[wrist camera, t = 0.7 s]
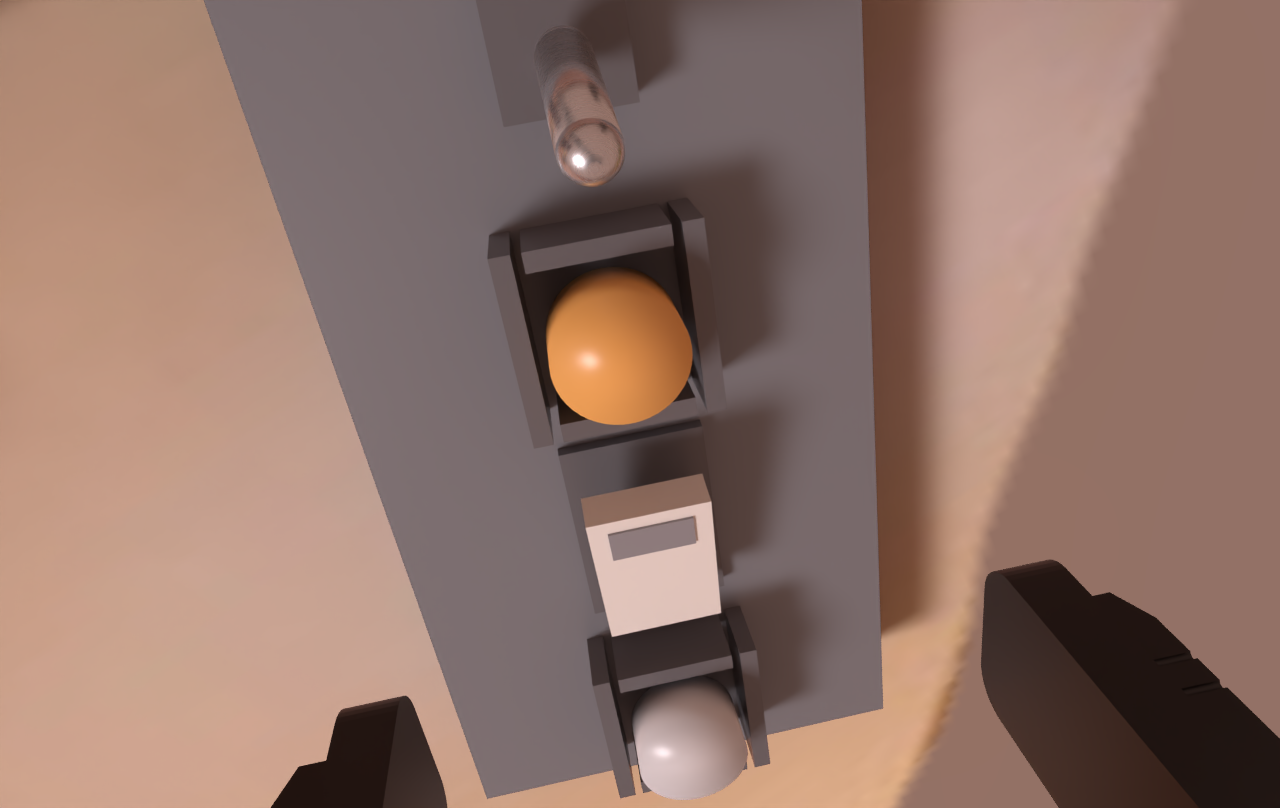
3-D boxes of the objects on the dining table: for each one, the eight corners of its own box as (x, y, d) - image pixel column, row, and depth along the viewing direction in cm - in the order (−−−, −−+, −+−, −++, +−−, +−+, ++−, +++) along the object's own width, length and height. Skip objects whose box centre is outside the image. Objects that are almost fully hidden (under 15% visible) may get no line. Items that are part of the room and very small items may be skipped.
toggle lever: (525, 20, 17) (553, 143, 14) (585, 10, 17) (627, 129, 14) (536, 78, 18) (565, 206, 14) (593, 68, 18) (634, 193, 14)
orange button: (532, 281, 20) (535, 307, 18) (668, 254, 20) (682, 278, 18) (560, 403, 21) (564, 437, 19) (686, 377, 21) (700, 409, 20)
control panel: (209, -106, 19) (119, -133, 15) (807, -205, 20) (894, -259, 16) (488, 730, 32) (486, 852, 27) (852, 648, 32) (907, 754, 28)
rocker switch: (580, 498, 22) (585, 530, 21) (702, 473, 22) (711, 503, 21) (606, 608, 25) (612, 639, 24) (712, 585, 25) (721, 614, 24)
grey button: (623, 688, 26) (631, 735, 24) (727, 665, 26) (742, 710, 24) (640, 761, 27) (648, 810, 25) (738, 738, 27) (752, 786, 26)
